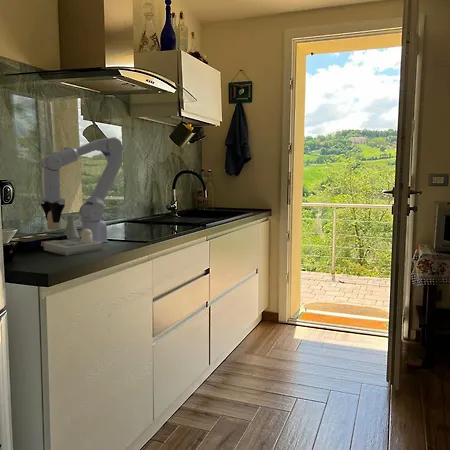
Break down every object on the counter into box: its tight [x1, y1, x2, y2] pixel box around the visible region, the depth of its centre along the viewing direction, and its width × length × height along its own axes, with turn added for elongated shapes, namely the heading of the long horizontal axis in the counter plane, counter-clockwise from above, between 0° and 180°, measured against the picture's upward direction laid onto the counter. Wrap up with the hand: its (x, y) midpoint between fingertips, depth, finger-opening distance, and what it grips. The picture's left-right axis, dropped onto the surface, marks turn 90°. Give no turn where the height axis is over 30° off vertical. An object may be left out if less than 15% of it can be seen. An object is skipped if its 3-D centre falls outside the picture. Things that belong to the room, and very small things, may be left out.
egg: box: [46, 211, 60, 230], centre depth 175 cm, size 4×4×7 cm
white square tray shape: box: [43, 229, 104, 257], centre depth 168 cm, size 15×15×8 cm
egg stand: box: [40, 239, 60, 248], centre depth 176 cm, size 7×7×2 cm
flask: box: [63, 214, 81, 240], centre depth 195 cm, size 7×7×10 cm
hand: (53, 221), depth 175 cm, fingers closed on egg, 4 cm apart
